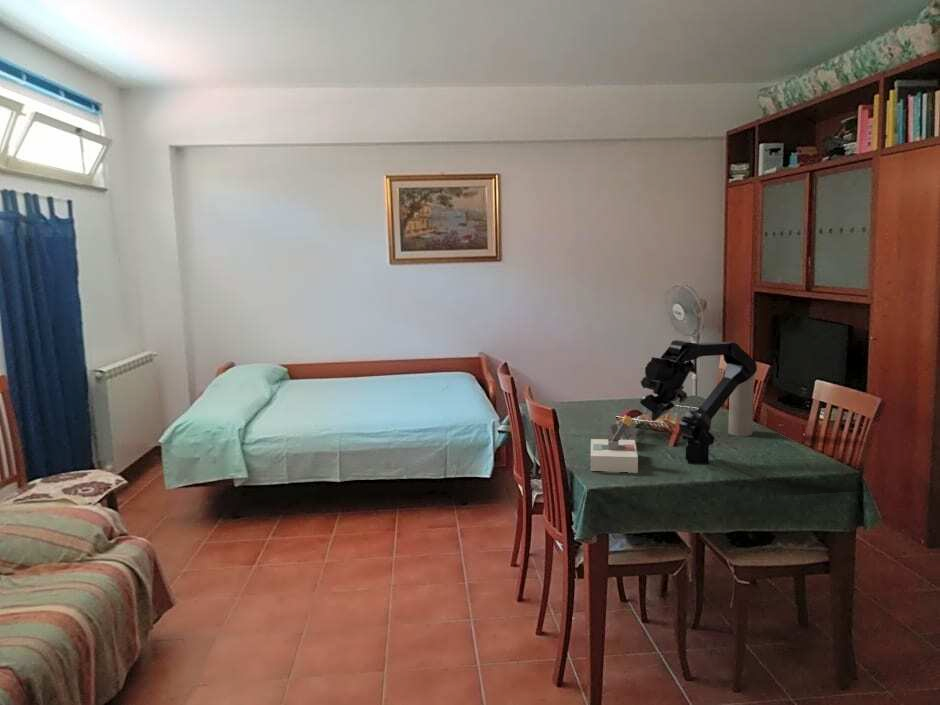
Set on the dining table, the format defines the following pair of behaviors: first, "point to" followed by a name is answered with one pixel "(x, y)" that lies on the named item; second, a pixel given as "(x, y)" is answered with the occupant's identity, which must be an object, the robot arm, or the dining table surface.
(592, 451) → the breaker housing
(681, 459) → the dining table surface
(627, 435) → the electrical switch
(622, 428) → the breaker lever
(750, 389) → the thermos bottle
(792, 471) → the dining table surface
